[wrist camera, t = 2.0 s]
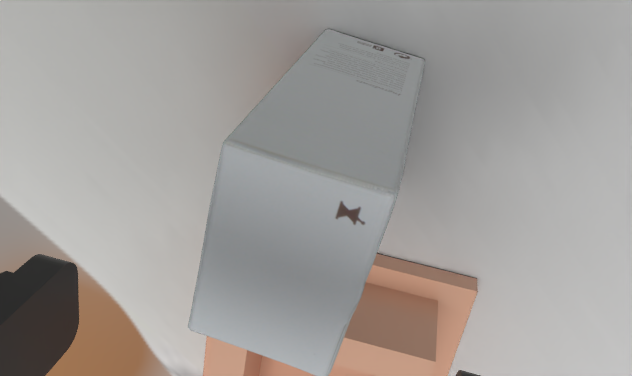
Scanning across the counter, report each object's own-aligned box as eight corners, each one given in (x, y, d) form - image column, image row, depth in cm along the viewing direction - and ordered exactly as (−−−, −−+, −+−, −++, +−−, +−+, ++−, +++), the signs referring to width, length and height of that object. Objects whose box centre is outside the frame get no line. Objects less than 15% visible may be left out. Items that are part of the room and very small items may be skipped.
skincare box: (323, 24, 24) (220, 132, 13) (427, 57, 24) (405, 193, 13) (288, 158, 27) (180, 333, 16) (380, 188, 26) (332, 386, 16)
